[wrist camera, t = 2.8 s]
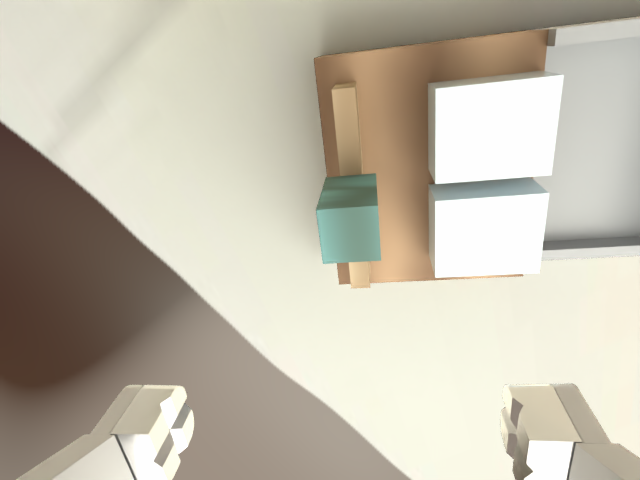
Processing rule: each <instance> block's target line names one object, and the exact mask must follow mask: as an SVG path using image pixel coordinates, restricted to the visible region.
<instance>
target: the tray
mask: <svg viewBox="0 0 640 480" xmlns="http://www.w3.org/2000/svg"><path fill="white" fill-rule="evenodd" d="M544 29H549V33H548V43H547V52H546V62H545V71H546V72H551V73H557V74H562V75H564V78H563V86H562V94H561V102H560V110H559V118H558V127H557V135H556V143H555V151H554V159H553V167H552V175H548V176H535V177H533V180H535V181H536V182H537V183H538V184H539V185H540V186H542V187H543V188H544V189H545V190H546V191H547V192H549V200H548V208H547V216H546V224H545V232H544V240H543V248H542V256H541V261H543V260H563V259H584V258H604V257H624V256H640V16H637V17H628V18H620V19H612V20H604V21H596V22H588V23H580V24H572V25H564V26H556V27H548V28H540V29H532V30H544ZM524 31H525V30H524Z"/></svg>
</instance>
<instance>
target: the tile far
mask: <svg viewBox="0 0 640 480" xmlns="http://www.w3.org/2000/svg"><path fill="white" fill-rule="evenodd" d="M428 188H429V257H430V261H431V264H432V268H433V271H434V275H435V278H442V277H464V276H486V275H508V274H530V273H540V264H541V256H542V248H543V240H544V232H545V224H546V216H547V208H548V200H549V192H547V191H546V190H545V189H544V188H543V187H542V186H540V185H539V184H538V183H537V182H536V181H535V180H533V179H532V178H531V177H522V178H509V179H496V180H483V181H470V182H457V183H444V184H428Z"/></svg>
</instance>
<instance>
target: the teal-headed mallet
mask: <svg viewBox="0 0 640 480" xmlns="http://www.w3.org/2000/svg"><path fill="white" fill-rule="evenodd" d="M332 99H333V109H334V119H335V129H336V139H337V149H338V160H339V170H340V176H336V177H326V179H325V182H324V186H323V189H322V192H321V195H320V199H319V202H318V205H317V209H316V214H317V221H318V229H319V237H320V245H321V252H322V260H323V264H328V263H347V262H349V271H350V281H351V288H370V261H381V247H380V230H379V213H378V197H377V180H376V173H372V174H363V163H362V150H361V136H360V123H359V109H358V96H357V82H350V83H342V84H335V86H334V87H333V89H332Z"/></svg>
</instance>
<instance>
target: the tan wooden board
mask: <svg viewBox="0 0 640 480" xmlns="http://www.w3.org/2000/svg"><path fill="white" fill-rule="evenodd" d="M548 33H549V29H544V30H525V31H516V32H508V33H500V34H492V35H484V36H476V37H468V38H460V39H452V40H444V41H436V42H428V43H420V44H412V45H404V46H396V47H388V48H380V49H372V50H364V51H356V52H348V53H340V54H332V55H324V56H319V57H316V58H314V64H315V73H316V82H317V91H318V100H319V109H320V118H321V127H322V136H323V145H324V153H325V162H326V171H327V177H336V176H340V170H339V160H338V149H337V139H336V129H335V119H334V109H333V99H332V89H333V87H334V86H335V84H342V83H350V82H357V96H358V109H359V123H360V136H361V150H362V163H363V174H372V173H376V180H377V197H378V213H379V230H380V247H381V261H370V283H381V282H403V281H426V280H448V279H471V278H493V277H515V276H523V274H508V275H486V276H464V277H442V278H435V275H434V271H433V268H432V264H431V261H430V257H429V188H428V184H435V182H434V180H433V178H432V176H431V174H430V171H429V169H428V83H433V82H442V81H451V80H460V79H469V78H478V77H487V76H496V75H505V74H514V73H523V72H532V71H545V62H546V52H547V43H548ZM531 178H532V179H533V177H531ZM337 269H338V278H339V284H351V281H350V271H349V262H347V263H337Z"/></svg>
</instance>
